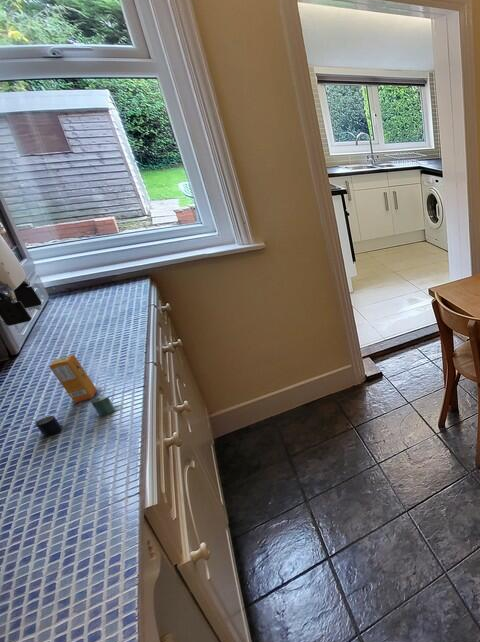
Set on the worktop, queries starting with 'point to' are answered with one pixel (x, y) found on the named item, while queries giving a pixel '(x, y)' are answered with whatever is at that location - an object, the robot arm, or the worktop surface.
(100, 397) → the teal green cylinder
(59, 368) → the supplement box
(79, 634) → the worktop surface
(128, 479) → the worktop surface
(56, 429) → the black cylinder
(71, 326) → the worktop surface
